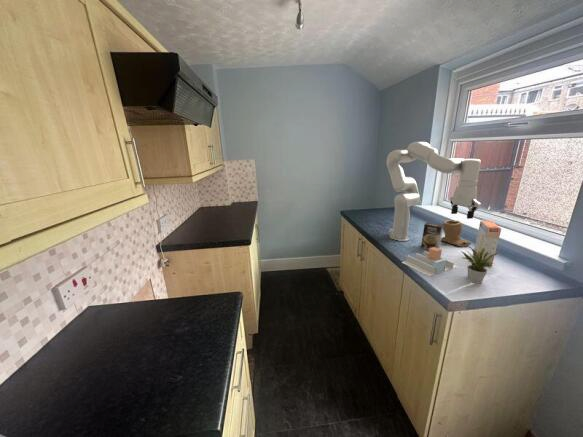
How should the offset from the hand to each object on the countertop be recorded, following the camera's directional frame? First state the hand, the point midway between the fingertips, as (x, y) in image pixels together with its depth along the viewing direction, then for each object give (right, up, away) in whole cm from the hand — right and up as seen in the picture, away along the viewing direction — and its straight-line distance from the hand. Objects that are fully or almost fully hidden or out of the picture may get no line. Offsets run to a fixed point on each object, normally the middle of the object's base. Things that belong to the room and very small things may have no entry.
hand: (461, 215), depth 123 cm
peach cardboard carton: (-16, -25, -1) cm, 29 cm away
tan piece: (+14, -18, +27) cm, 35 cm away
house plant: (-4, -30, -16) cm, 34 cm away
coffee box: (-6, -21, +18) cm, 28 cm away
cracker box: (+14, -24, +4) cm, 28 cm away
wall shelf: (-18, -26, -2) cm, 32 cm away
